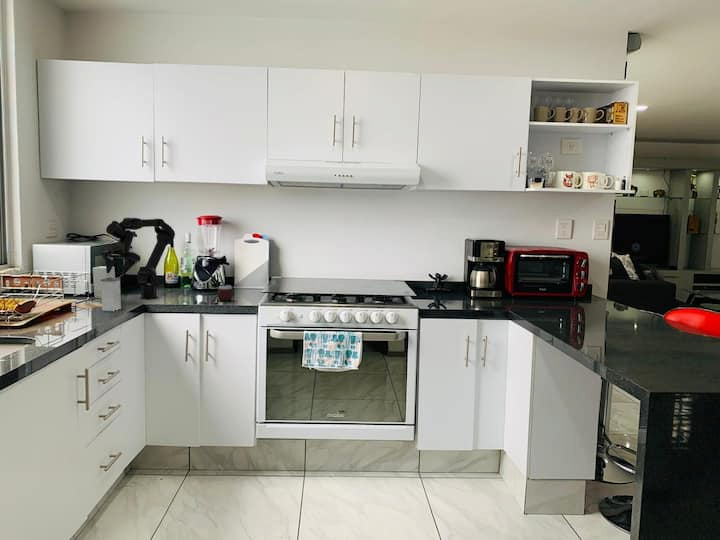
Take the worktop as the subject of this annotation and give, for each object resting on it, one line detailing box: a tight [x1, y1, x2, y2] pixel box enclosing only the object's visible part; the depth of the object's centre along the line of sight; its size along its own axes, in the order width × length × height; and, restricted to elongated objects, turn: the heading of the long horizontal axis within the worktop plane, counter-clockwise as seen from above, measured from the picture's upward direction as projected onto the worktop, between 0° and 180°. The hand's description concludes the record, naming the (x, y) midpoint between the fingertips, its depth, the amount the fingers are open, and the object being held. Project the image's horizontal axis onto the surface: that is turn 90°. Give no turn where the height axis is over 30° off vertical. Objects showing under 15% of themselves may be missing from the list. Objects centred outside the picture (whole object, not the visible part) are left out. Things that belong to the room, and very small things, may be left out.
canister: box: [100, 277, 122, 312], centre depth 240 cm, size 6×6×14 cm
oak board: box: [74, 301, 102, 310], centre depth 250 cm, size 12×12×1 cm
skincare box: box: [92, 265, 116, 299], centre depth 272 cm, size 8×7×16 cm
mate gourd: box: [214, 270, 234, 303], centre depth 267 cm, size 8×8×15 cm
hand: (115, 273), depth 252 cm, fingers open, 9 cm apart
